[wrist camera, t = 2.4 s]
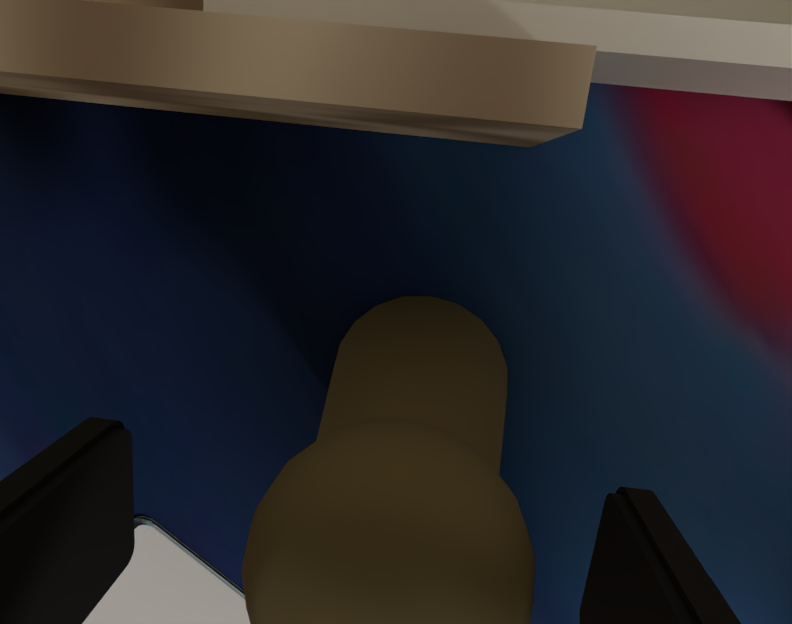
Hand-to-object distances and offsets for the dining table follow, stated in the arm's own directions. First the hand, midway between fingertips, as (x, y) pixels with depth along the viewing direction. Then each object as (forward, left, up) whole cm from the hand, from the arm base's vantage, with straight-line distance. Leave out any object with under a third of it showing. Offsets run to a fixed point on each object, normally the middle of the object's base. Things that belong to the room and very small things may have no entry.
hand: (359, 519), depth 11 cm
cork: (-1, 0, -9) cm, 9 cm away
